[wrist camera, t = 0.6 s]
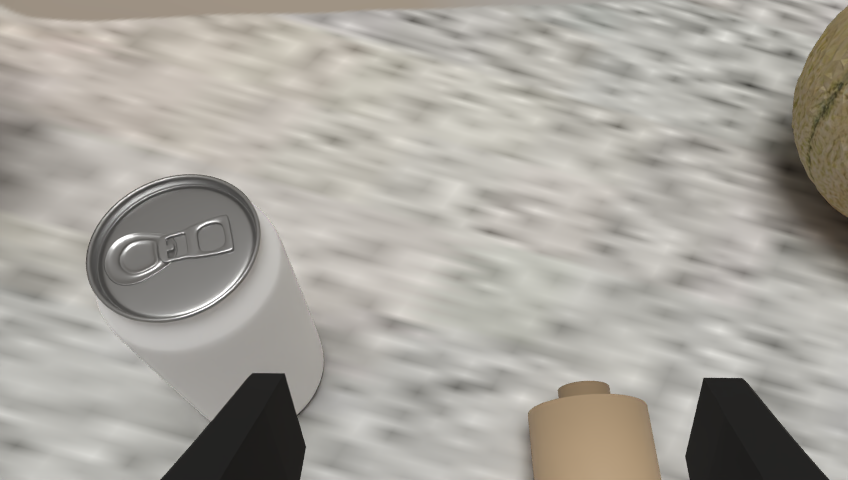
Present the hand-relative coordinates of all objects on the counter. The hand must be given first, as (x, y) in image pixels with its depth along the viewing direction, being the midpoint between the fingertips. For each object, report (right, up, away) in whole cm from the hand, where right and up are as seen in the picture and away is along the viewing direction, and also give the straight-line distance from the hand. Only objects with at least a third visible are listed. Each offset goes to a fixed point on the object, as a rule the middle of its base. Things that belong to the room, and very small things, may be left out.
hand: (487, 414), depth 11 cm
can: (-9, -3, +20) cm, 22 cm away
